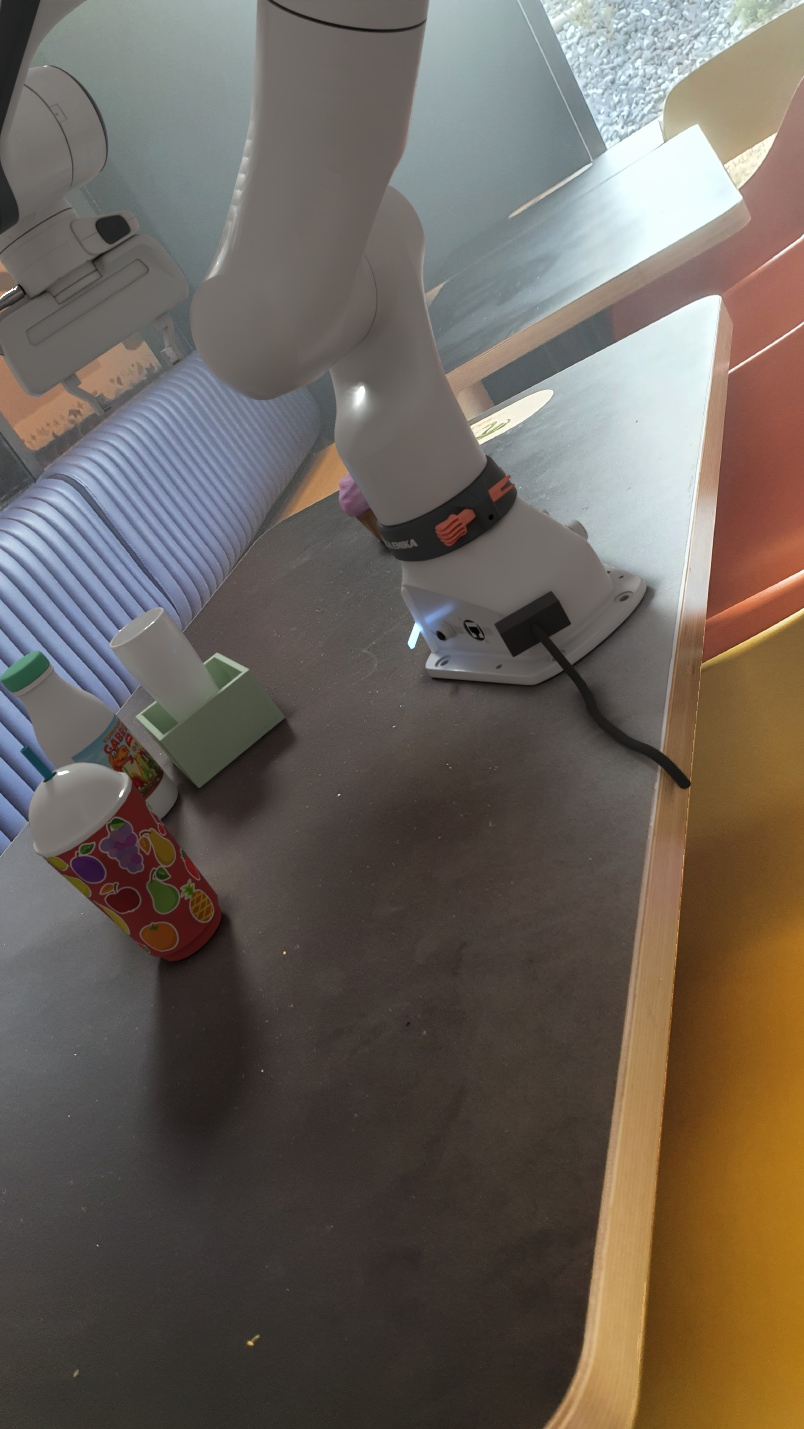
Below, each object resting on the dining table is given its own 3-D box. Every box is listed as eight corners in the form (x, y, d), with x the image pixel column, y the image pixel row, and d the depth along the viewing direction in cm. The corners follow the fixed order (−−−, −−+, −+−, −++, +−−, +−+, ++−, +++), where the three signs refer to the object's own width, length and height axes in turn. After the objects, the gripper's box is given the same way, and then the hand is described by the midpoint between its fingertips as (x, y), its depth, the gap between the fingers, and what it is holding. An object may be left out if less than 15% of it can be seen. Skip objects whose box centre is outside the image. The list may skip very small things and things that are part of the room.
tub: (285, 717, 100) (249, 669, 97) (199, 788, 98) (159, 740, 95) (250, 696, 110) (217, 652, 107) (171, 760, 108) (134, 716, 105)
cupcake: (360, 542, 135) (322, 481, 130) (411, 507, 135) (375, 445, 131) (374, 555, 127) (334, 491, 122) (429, 519, 127) (391, 453, 123)
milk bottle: (116, 852, 96) (-23, 701, 87) (120, 815, 103) (-9, 672, 94) (181, 810, 96) (48, 655, 87) (180, 776, 103) (57, 629, 94)
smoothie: (201, 887, 82) (45, 709, 73) (255, 901, 75) (91, 709, 67) (132, 965, 77) (-42, 787, 69) (183, 986, 71) (-2, 793, 62)
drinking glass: (236, 746, 100) (147, 632, 93) (187, 765, 103) (97, 656, 96) (256, 708, 105) (173, 597, 98) (209, 727, 108) (125, 621, 101)
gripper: (-31, 312, 90) (65, 441, 96) (144, 202, 95) (225, 331, 101) (-36, 322, 95) (55, 444, 102) (130, 218, 101) (207, 340, 107)
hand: (141, 387), depth 101 cm, fingers open, 8 cm apart
